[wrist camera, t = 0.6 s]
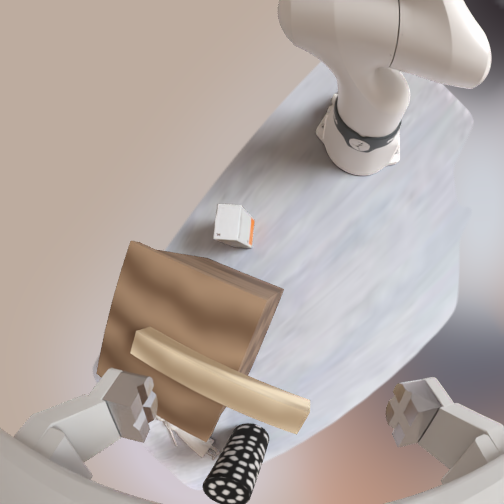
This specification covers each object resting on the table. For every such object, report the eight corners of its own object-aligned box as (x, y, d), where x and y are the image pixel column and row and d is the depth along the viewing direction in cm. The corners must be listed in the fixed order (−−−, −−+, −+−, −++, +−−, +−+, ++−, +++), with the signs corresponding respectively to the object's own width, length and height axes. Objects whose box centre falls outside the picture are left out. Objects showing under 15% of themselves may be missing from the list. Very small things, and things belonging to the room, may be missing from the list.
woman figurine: (204, 472, 49) (144, 429, 55) (211, 463, 54) (154, 423, 59) (224, 446, 49) (158, 400, 54) (231, 437, 53) (168, 394, 58)
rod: (150, 326, 31) (136, 330, 28) (310, 400, 26) (309, 412, 23) (144, 347, 31) (130, 353, 28) (298, 420, 26) (296, 434, 23)
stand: (205, 254, 57) (130, 240, 32) (287, 287, 54) (267, 300, 28) (175, 340, 57) (96, 373, 32) (250, 376, 54) (206, 442, 28)
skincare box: (252, 248, 56) (237, 242, 44) (232, 246, 56) (211, 239, 45) (256, 218, 56) (241, 204, 44) (235, 217, 57) (216, 203, 45)
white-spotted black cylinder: (259, 455, 51) (238, 511, 32) (227, 441, 53) (196, 492, 34) (275, 433, 51) (258, 490, 32) (241, 417, 53) (212, 469, 34)
